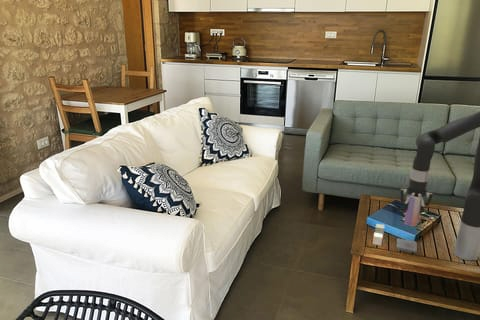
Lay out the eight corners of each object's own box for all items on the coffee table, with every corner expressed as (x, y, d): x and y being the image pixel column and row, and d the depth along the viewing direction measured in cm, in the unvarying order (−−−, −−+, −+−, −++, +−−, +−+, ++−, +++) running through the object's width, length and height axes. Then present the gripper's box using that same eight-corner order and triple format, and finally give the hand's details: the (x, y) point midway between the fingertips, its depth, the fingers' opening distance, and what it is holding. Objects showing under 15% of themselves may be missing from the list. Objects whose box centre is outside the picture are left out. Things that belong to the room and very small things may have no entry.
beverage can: (403, 224, 184) (408, 195, 179) (404, 219, 189) (409, 191, 184) (417, 227, 181) (422, 198, 176) (418, 222, 186) (423, 193, 181)
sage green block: (383, 232, 202) (384, 225, 200) (383, 236, 198) (384, 228, 197) (375, 231, 203) (376, 223, 202) (374, 234, 200) (375, 227, 198)
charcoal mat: (416, 243, 192) (416, 241, 191) (416, 253, 184) (417, 251, 183) (396, 240, 195) (396, 238, 194) (396, 249, 187) (396, 247, 186)
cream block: (381, 241, 193) (382, 233, 192) (381, 245, 190) (382, 237, 188) (373, 240, 194) (374, 232, 193) (372, 244, 191) (373, 236, 189)
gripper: (435, 177, 178) (429, 210, 184) (402, 173, 183) (396, 205, 189) (437, 183, 171) (430, 217, 177) (402, 178, 176) (396, 211, 182)
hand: (412, 211), depth 183 cm, fingers closed on beverage can, 6 cm apart
